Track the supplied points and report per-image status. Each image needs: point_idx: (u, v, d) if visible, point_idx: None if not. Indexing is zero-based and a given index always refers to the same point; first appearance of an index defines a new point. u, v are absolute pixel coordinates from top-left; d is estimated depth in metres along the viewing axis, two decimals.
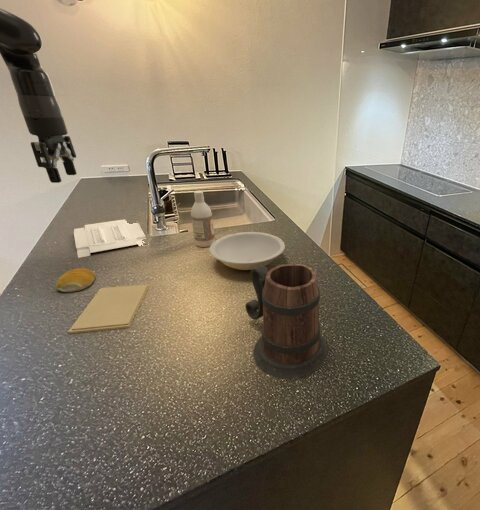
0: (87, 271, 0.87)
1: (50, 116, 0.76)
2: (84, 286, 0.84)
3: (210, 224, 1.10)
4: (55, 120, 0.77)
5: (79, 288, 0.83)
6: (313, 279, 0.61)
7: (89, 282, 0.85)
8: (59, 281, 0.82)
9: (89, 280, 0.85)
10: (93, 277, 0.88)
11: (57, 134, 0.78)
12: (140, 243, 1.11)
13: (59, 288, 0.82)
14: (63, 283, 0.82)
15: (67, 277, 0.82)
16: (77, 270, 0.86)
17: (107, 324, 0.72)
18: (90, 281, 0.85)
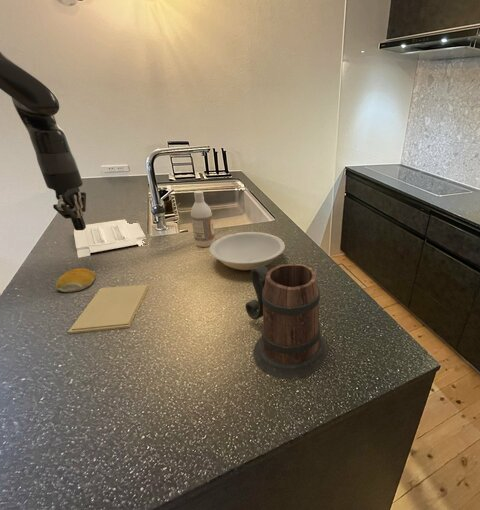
0: (87, 271, 0.87)
1: (66, 171, 0.79)
2: (84, 286, 0.84)
3: (210, 224, 1.10)
4: (71, 174, 0.80)
5: (79, 288, 0.83)
6: (313, 279, 0.61)
7: (89, 282, 0.85)
8: (59, 281, 0.82)
9: (89, 280, 0.85)
10: (93, 277, 0.88)
11: (73, 187, 0.82)
12: (140, 243, 1.11)
13: (59, 288, 0.82)
14: (63, 283, 0.82)
15: (67, 277, 0.82)
16: (77, 270, 0.86)
17: (107, 324, 0.72)
18: (90, 281, 0.85)
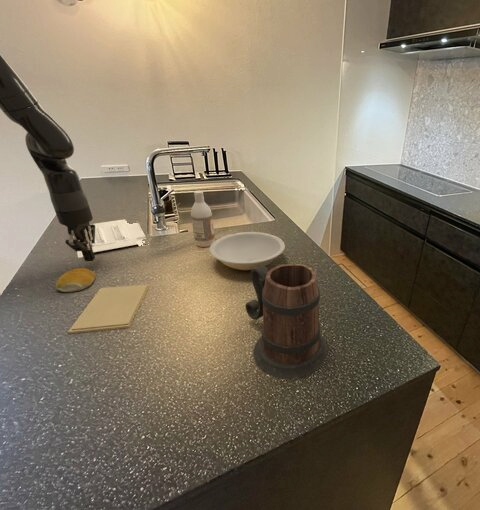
0: (87, 271, 0.87)
1: (78, 208, 0.84)
2: (84, 286, 0.84)
3: (210, 224, 1.10)
4: (82, 211, 0.85)
5: (79, 288, 0.83)
6: (313, 279, 0.61)
7: (89, 282, 0.85)
8: (59, 281, 0.82)
9: (89, 280, 0.85)
10: (93, 277, 0.88)
11: (84, 222, 0.86)
12: (140, 243, 1.11)
13: (59, 288, 0.82)
14: (63, 283, 0.82)
15: (67, 277, 0.82)
16: (77, 270, 0.86)
17: (107, 324, 0.72)
18: (90, 281, 0.85)
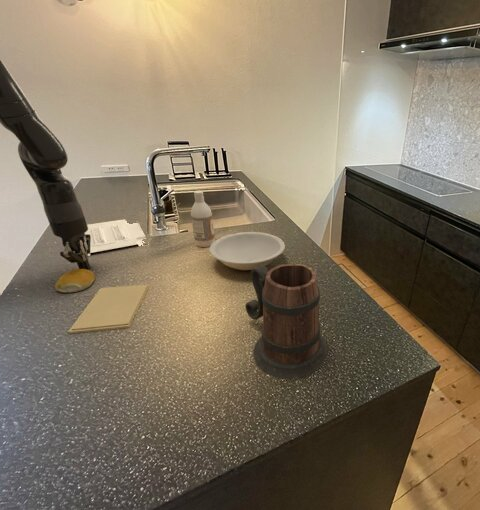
0: (87, 271, 0.87)
1: (73, 219, 0.81)
2: (83, 287, 0.84)
3: (210, 224, 1.10)
4: (77, 222, 0.82)
5: (78, 289, 0.83)
6: (313, 279, 0.61)
7: (89, 283, 0.85)
8: (59, 282, 0.81)
9: (89, 280, 0.85)
10: (93, 278, 0.87)
11: (79, 233, 0.83)
12: (140, 243, 1.11)
13: (59, 289, 0.81)
14: (63, 284, 0.81)
15: (67, 278, 0.82)
16: (77, 271, 0.86)
17: (107, 324, 0.72)
18: (90, 282, 0.85)
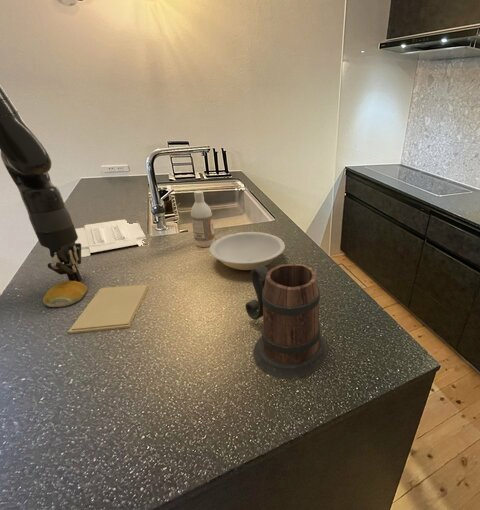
0: (78, 284, 0.81)
1: (61, 228, 0.76)
2: (74, 301, 0.78)
3: (210, 224, 1.10)
4: (66, 231, 0.77)
5: (68, 303, 0.77)
6: (313, 279, 0.61)
7: (79, 296, 0.79)
8: (47, 295, 0.76)
9: (80, 293, 0.79)
10: (84, 290, 0.82)
11: (68, 243, 0.78)
12: (140, 243, 1.11)
13: (47, 304, 0.76)
14: (51, 298, 0.76)
15: (55, 291, 0.77)
16: (67, 283, 0.80)
17: (107, 324, 0.72)
18: (80, 295, 0.80)
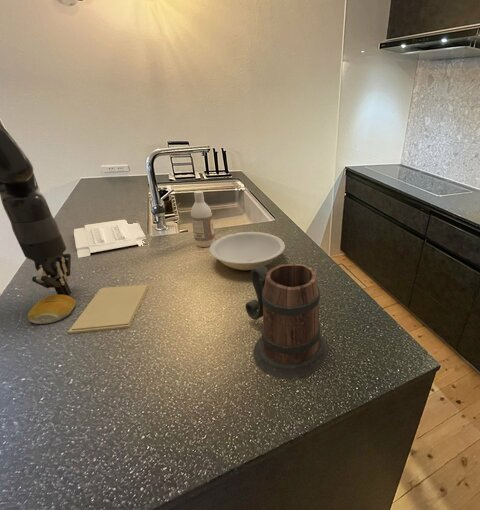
0: (66, 298, 0.76)
1: (47, 239, 0.70)
2: (61, 316, 0.73)
3: (210, 224, 1.10)
4: (52, 242, 0.71)
5: (55, 319, 0.72)
6: (313, 279, 0.61)
7: (67, 311, 0.74)
8: (31, 311, 0.71)
9: (68, 309, 0.74)
10: (73, 305, 0.76)
11: (55, 255, 0.72)
12: (140, 243, 1.11)
13: (32, 320, 0.70)
14: (36, 314, 0.70)
15: (41, 307, 0.71)
16: (54, 297, 0.75)
17: (107, 324, 0.72)
18: (68, 310, 0.74)
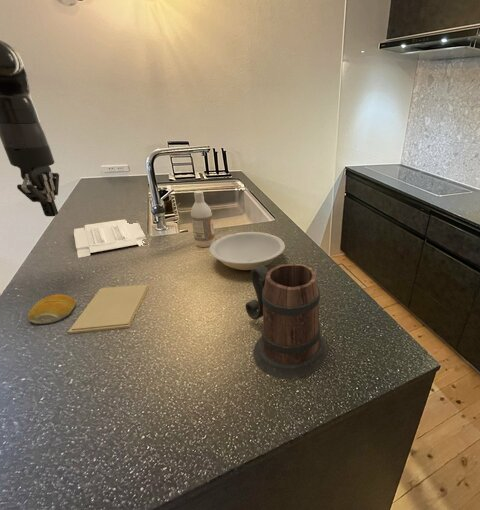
0: (66, 298, 0.76)
1: (34, 146, 0.68)
2: (61, 316, 0.73)
3: (210, 224, 1.10)
4: (40, 150, 0.69)
5: (55, 319, 0.72)
6: (313, 279, 0.61)
7: (67, 311, 0.74)
8: (31, 311, 0.71)
9: (68, 308, 0.74)
10: (73, 305, 0.76)
11: (42, 165, 0.70)
12: (140, 243, 1.11)
13: (32, 320, 0.70)
14: (36, 314, 0.70)
15: (41, 307, 0.71)
16: (54, 297, 0.75)
17: (107, 324, 0.72)
18: (68, 310, 0.74)
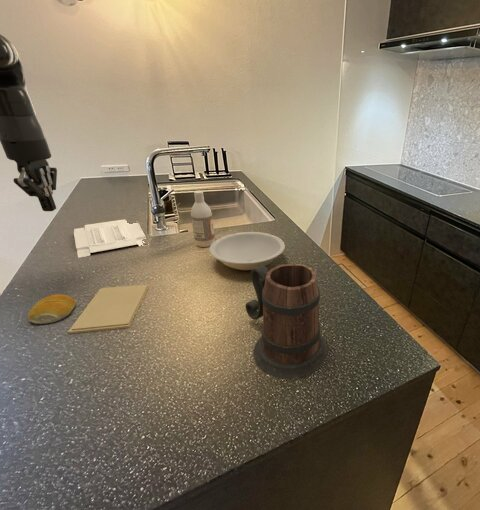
0: (66, 298, 0.76)
1: (30, 139, 0.67)
2: (61, 316, 0.73)
3: (210, 224, 1.10)
4: (36, 143, 0.68)
5: (55, 319, 0.72)
6: (313, 279, 0.61)
7: (67, 311, 0.74)
8: (31, 311, 0.71)
9: (68, 309, 0.74)
10: (73, 305, 0.76)
11: (39, 158, 0.69)
12: (140, 243, 1.11)
13: (32, 320, 0.70)
14: (36, 314, 0.70)
15: (41, 307, 0.71)
16: (54, 297, 0.75)
17: (107, 324, 0.72)
18: (68, 310, 0.74)
